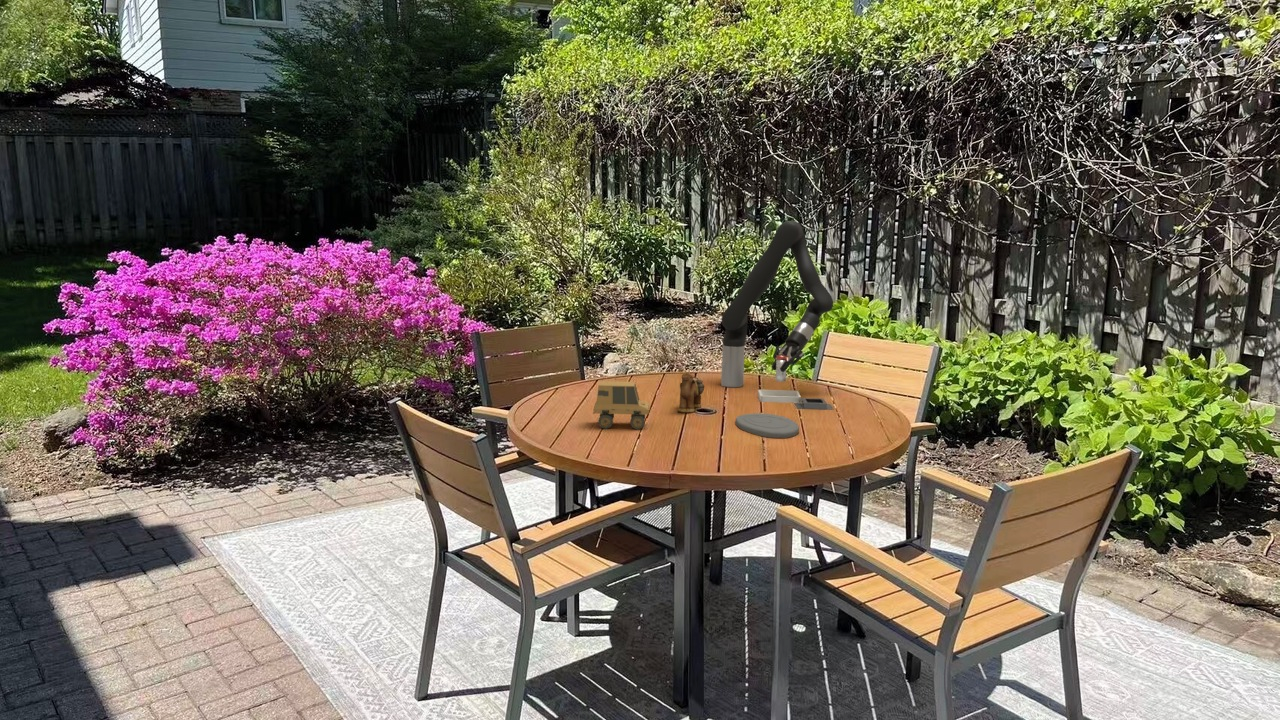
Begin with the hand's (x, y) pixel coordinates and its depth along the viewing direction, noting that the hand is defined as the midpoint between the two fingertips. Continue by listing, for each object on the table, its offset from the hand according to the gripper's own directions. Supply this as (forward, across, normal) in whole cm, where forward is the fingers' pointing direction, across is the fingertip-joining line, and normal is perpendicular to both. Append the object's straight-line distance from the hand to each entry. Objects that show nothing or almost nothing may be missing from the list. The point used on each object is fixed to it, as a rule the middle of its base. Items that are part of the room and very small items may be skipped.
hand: (777, 369), depth 342 cm
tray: (+8, 0, +10) cm, 13 cm away
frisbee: (+31, +26, -12) cm, 42 cm away
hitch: (+6, +16, +12) cm, 21 cm away
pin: (+2, 0, +5) cm, 5 cm away
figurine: (+35, -8, -17) cm, 40 cm away
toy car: (+60, -4, -42) cm, 73 cm away
